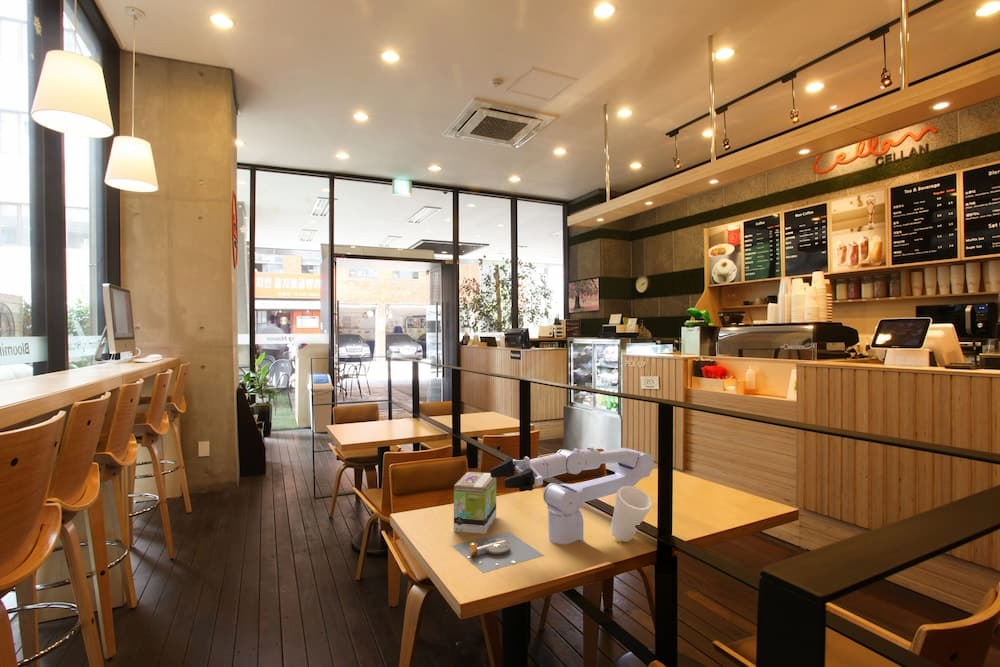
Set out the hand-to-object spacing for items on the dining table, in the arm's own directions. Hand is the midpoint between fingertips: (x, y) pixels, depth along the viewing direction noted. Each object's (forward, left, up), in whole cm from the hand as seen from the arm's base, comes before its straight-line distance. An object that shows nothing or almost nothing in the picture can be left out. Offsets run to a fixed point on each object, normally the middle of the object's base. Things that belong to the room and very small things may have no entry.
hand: (497, 478), depth 134 cm
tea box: (-5, -23, -22) cm, 31 cm away
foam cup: (-36, +7, -20) cm, 42 cm away
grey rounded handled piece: (+1, -3, -20) cm, 20 cm away
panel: (-1, -3, -21) cm, 21 cm away
